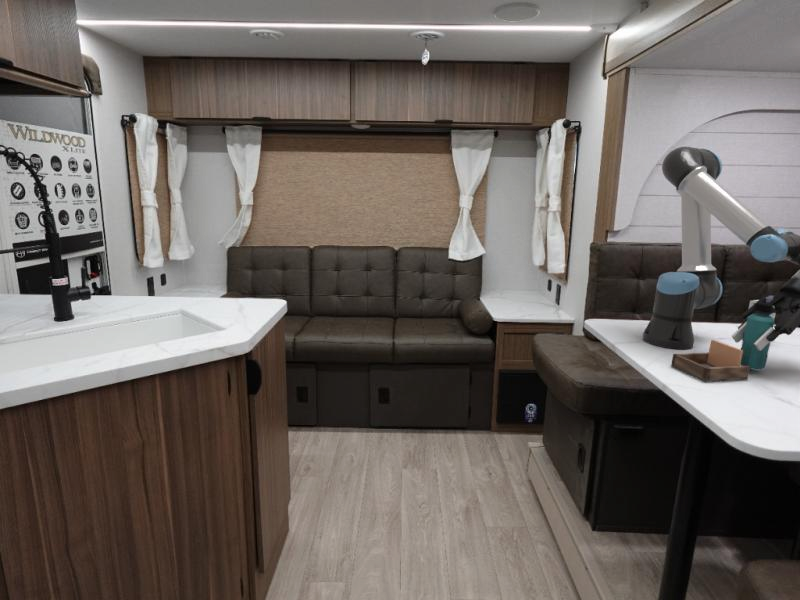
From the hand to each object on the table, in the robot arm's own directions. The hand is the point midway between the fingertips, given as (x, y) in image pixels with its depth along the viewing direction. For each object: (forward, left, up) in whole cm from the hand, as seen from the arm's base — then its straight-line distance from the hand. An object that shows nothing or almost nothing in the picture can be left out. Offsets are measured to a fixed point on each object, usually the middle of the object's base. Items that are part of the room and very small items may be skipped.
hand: (745, 343), depth 138 cm
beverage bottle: (-3, +1, -9) cm, 9 cm away
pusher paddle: (+6, -2, -7) cm, 10 cm away
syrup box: (-39, -11, -9) cm, 42 cm away
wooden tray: (+10, -4, -8) cm, 14 cm away
